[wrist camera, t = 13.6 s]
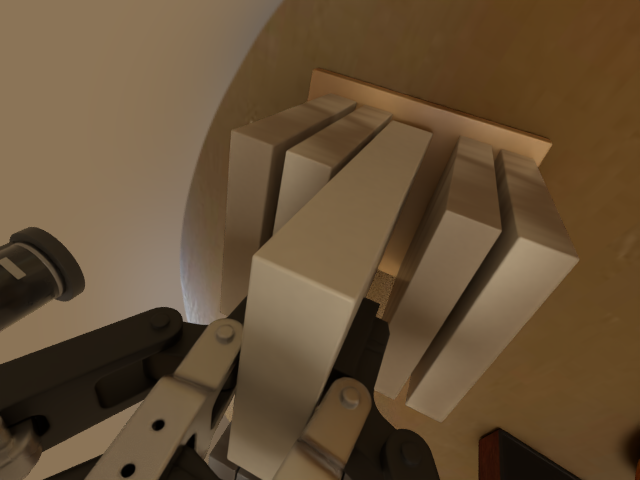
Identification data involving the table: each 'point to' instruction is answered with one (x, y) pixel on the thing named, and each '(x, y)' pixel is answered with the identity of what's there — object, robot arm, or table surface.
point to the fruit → (638, 471)
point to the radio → (515, 461)
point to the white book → (315, 295)
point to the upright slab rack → (413, 227)
